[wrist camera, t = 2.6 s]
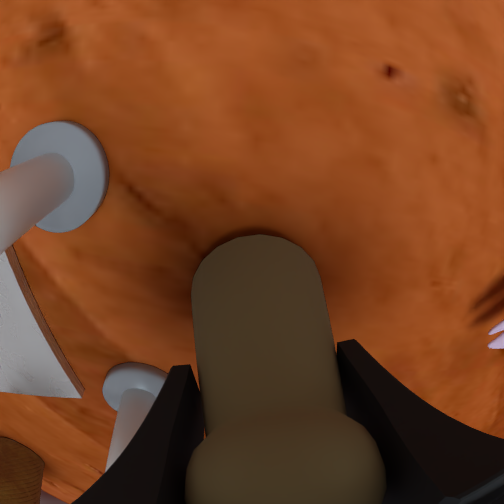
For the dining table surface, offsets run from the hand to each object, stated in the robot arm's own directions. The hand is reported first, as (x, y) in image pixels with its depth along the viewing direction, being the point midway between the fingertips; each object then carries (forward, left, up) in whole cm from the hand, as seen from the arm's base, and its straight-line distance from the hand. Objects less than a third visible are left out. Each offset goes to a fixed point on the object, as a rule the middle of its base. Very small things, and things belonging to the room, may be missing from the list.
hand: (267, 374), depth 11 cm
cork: (0, 0, -5) cm, 5 cm away
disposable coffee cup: (-19, +29, -6) cm, 35 cm away
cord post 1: (+7, +8, -6) cm, 12 cm away
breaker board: (0, +17, -6) cm, 18 cm away
